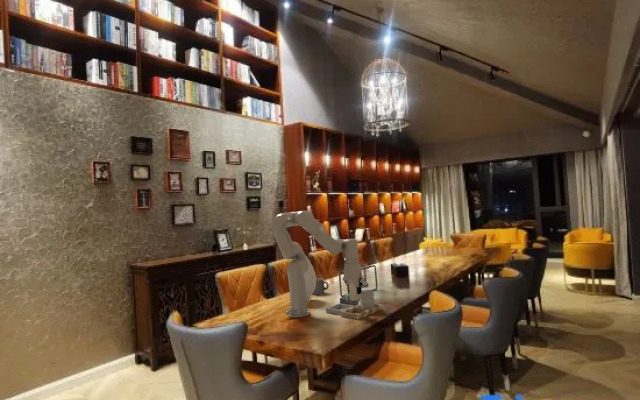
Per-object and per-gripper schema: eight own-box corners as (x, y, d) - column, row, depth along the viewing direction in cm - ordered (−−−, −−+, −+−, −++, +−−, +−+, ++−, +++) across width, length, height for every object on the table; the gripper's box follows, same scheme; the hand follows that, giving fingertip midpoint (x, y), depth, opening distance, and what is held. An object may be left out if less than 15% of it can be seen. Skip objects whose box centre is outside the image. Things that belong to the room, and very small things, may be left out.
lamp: (289, 303, 264) (286, 249, 264) (298, 297, 279) (295, 246, 279) (312, 303, 259) (308, 249, 259) (320, 297, 274) (317, 246, 274)
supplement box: (372, 308, 238) (371, 286, 238) (375, 311, 231) (373, 289, 231) (360, 309, 238) (358, 287, 238) (362, 312, 230) (360, 290, 230)
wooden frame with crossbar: (357, 319, 218) (357, 314, 218) (340, 316, 226) (340, 311, 226) (382, 309, 234) (381, 304, 234) (365, 306, 243) (365, 302, 243)
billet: (356, 301, 222) (354, 277, 222) (347, 300, 226) (345, 276, 226) (362, 298, 226) (361, 275, 226) (354, 297, 230) (352, 274, 230)
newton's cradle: (365, 288, 293) (364, 263, 293) (378, 289, 286) (376, 264, 286) (340, 297, 270) (338, 271, 271) (352, 299, 263) (350, 272, 264)
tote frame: (341, 315, 228) (341, 310, 228) (326, 312, 236) (325, 308, 236) (355, 310, 237) (354, 305, 237) (339, 307, 245) (339, 303, 245)
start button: (349, 305, 244) (349, 295, 244) (344, 304, 247) (344, 295, 247) (353, 304, 247) (353, 294, 247) (348, 303, 250) (348, 293, 250)
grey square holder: (350, 308, 242) (349, 299, 242) (340, 306, 247) (339, 298, 247) (358, 305, 247) (358, 296, 247) (348, 303, 253) (347, 295, 253)
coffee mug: (308, 294, 286) (307, 280, 286) (313, 291, 295) (312, 277, 295) (325, 295, 280) (324, 280, 280) (330, 291, 290) (329, 277, 290)
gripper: (336, 261, 229) (338, 293, 229) (360, 262, 218) (363, 296, 217) (344, 259, 235) (347, 290, 235) (368, 260, 223) (371, 293, 223)
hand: (354, 292), depth 226 cm, fingers closed on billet, 6 cm apart
